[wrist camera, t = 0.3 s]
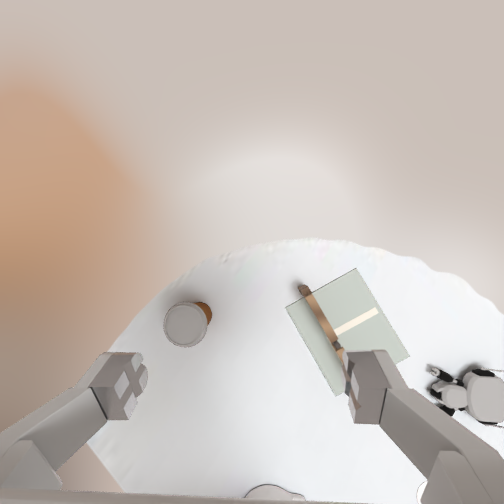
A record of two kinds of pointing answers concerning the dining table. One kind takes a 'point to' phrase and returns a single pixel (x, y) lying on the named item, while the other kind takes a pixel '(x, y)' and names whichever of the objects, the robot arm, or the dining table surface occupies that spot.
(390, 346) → the card
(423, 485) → the teacup and saucer
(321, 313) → the hinged fence panel
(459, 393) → the robot toy
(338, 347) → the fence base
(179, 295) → the dining table surface
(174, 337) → the disposable coffee cup
